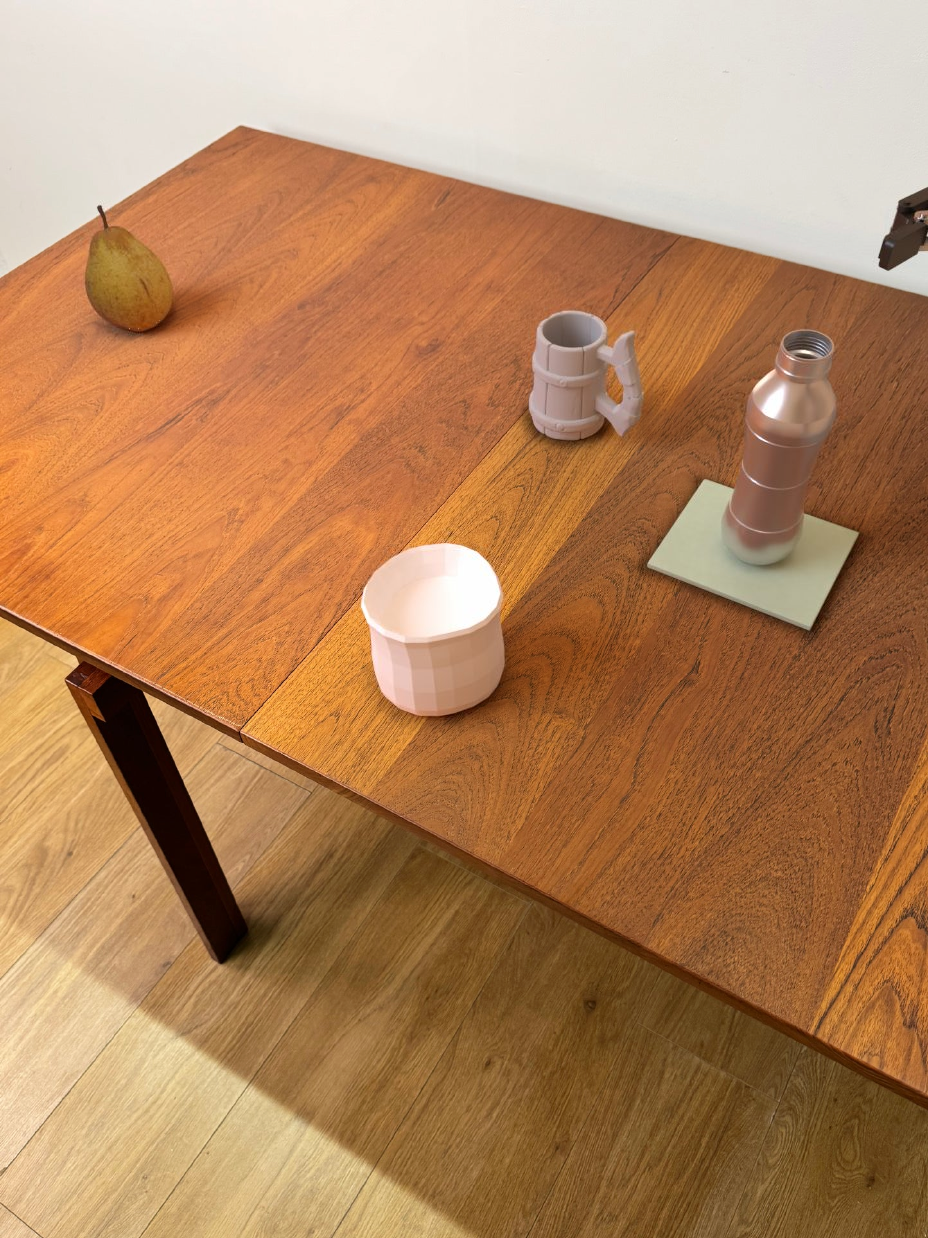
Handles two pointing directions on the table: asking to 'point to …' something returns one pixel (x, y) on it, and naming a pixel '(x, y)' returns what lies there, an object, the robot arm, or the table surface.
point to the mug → (582, 378)
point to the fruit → (126, 280)
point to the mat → (771, 589)
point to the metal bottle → (781, 450)
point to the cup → (435, 629)
